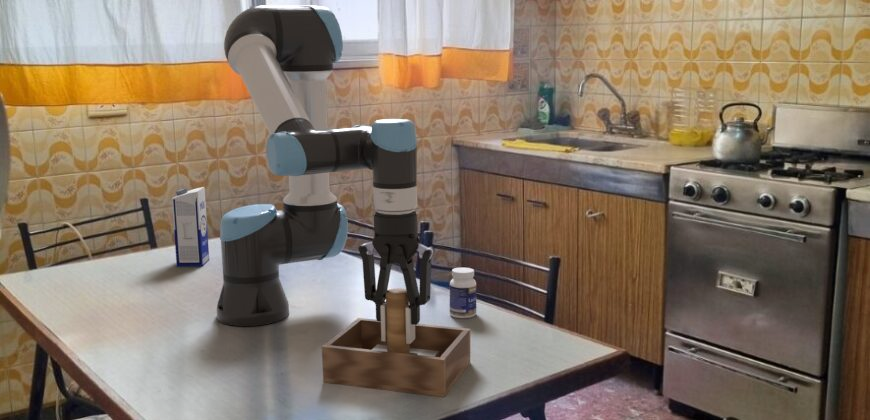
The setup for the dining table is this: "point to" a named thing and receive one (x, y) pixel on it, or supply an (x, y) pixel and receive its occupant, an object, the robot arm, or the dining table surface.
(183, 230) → the milk carton
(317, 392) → the dining table surface
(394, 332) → the dowel
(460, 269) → the pill bottle
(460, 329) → the box
